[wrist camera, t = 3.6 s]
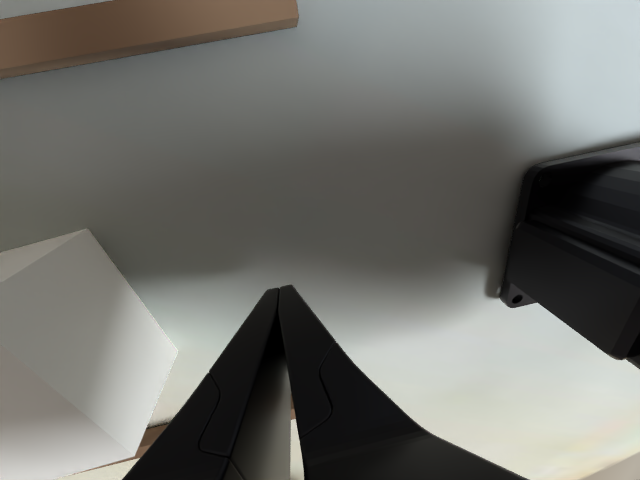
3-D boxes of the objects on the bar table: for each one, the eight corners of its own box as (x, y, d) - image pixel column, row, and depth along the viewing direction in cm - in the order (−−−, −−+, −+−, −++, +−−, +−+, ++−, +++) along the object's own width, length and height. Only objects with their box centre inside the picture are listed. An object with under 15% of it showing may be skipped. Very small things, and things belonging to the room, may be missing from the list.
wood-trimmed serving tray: (290, -15, 6) (292, -38, 5) (356, 387, 14) (363, 410, 13) (-720, 156, 5) (-964, 167, 4) (-62, 491, 13) (-93, 525, 12)
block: (91, 225, 9) (-42, 309, 5) (179, 347, 11) (134, 456, 8) (-90, 275, 8) (-357, 396, 5) (44, 386, 11) (-64, 513, 8)
